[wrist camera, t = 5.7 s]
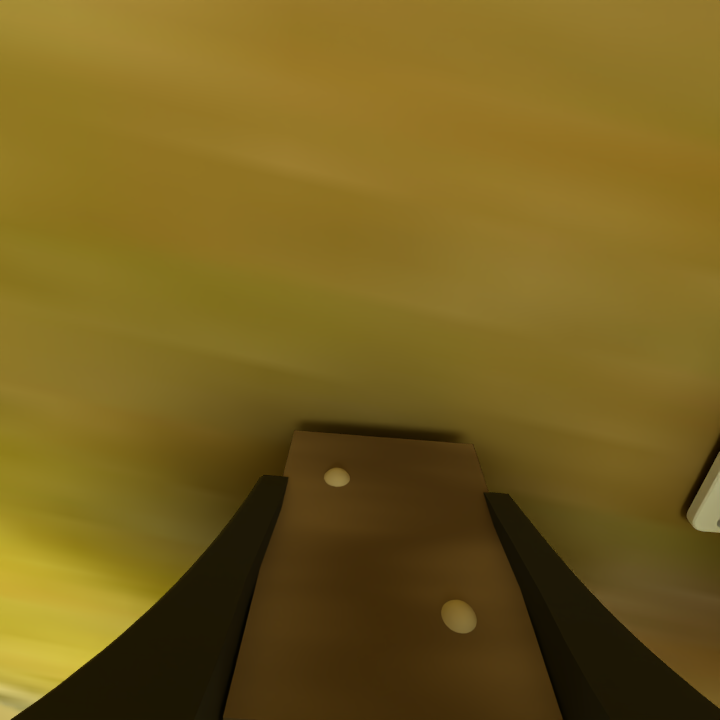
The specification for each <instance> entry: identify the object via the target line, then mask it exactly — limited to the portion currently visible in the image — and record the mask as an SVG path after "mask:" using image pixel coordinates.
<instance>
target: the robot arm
mask: <svg viewBox="0 0 720 720" xmlns="http://www.w3.org/2000/svg"><path fill="white" fill-rule="evenodd" d="M288 478H289V477H283V476H270V475H263V476H262V477H261V478H259V480H258V481H257V483H256V485H255V486H254V488H253V489H252V491H251V492H250V494H249V495H248V497H247V498H246V500H245V501H244V503H243V504H242V505H241V507H240V508H239V509H238V511H237V512H236V514H235V515H234V516H233V518H232V519H231V520H230V521H229V523H228V524H227V525H226V526H225V528H224V529H223V530H222V531H221V533H220V534H219V535H218V537H217V538H216V539H215V540H214V541H213V543H212V544H211V545H210V546H209V547H208V548H207V550H206V551H205V552H204V553H203V554H202V555H201V556H200V557H199V559H198V560H197V561H196V562H195V563H194V564H193V565H192V567H191V568H190V569H189V570H188V571H187V572H186V573H185V574H184V575H183V576H182V577H181V578H180V579H179V581H178V582H177V583H176V584H175V585H174V586H173V587H172V588H171V589H170V590H169V591H168V592H167V593H166V594H165V595H164V596H163V597H162V598H161V599H160V600H159V601H158V602H156V603H155V604H154V605H153V606H152V607H151V608H150V609H149V610H148V611H147V612H146V613H145V614H144V615H143V616H141V617H140V618H139V619H138V620H137V621H136V622H135V623H134V624H133V625H131V626H130V627H129V628H128V629H127V630H126V631H125V632H124V633H123V634H121V635H120V636H119V637H118V638H117V639H116V640H114V641H113V642H112V643H111V644H110V645H109V646H107V647H106V648H105V649H104V650H103V651H101V652H100V653H99V654H97V655H96V656H95V657H94V658H92V659H91V660H90V661H89V662H87V663H86V664H85V665H83V666H82V667H81V668H80V669H78V670H77V671H76V672H75V673H73V674H72V675H71V676H70V677H68V678H67V679H66V680H64V681H63V682H62V683H61V684H59V685H58V686H57V687H56V688H54V689H53V690H51V691H50V692H49V693H47V694H46V695H45V696H43V697H42V698H41V699H39V700H38V701H36V702H35V703H34V704H32V705H31V706H29V707H28V708H26V709H25V710H24V711H22V712H21V713H19V714H18V715H16V716H15V717H14V718H12V719H11V720H223V715H224V711H225V707H226V703H227V698H228V694H229V690H230V686H231V682H232V678H233V674H234V670H235V666H236V662H237V658H238V654H239V650H240V646H241V642H242V638H243V634H244V630H245V626H246V622H247V618H248V614H249V610H250V606H251V602H252V598H253V594H254V590H255V586H256V582H257V578H258V574H259V570H260V567H261V564H262V561H263V558H264V556H265V553H266V550H267V547H268V544H269V542H270V539H271V536H272V533H273V531H274V528H275V525H276V522H277V519H278V517H279V514H280V511H281V508H282V504H283V500H284V495H285V491H286V487H287V483H288ZM484 496H485V500H486V503H487V506H488V509H489V513H490V516H491V519H492V522H493V525H494V528H495V530H496V533H497V535H498V537H499V540H500V542H501V544H502V547H503V549H504V552H505V554H506V556H507V559H508V561H509V563H510V566H511V568H512V571H513V573H514V575H515V578H516V580H517V583H518V585H519V587H520V590H521V593H522V596H523V599H524V602H525V605H526V608H527V611H528V614H529V617H530V620H531V623H532V626H533V629H534V632H535V635H536V639H537V642H538V645H539V648H540V651H541V654H542V657H543V660H544V663H545V666H546V669H547V672H548V675H549V678H550V681H551V684H552V687H553V691H554V694H555V697H556V700H557V703H558V706H559V709H560V712H561V715H562V718H563V720H720V709H719V708H718V707H717V706H715V705H714V704H713V703H712V702H710V701H709V700H708V699H707V698H705V697H704V696H703V695H702V694H700V693H699V692H698V691H697V690H696V689H694V688H693V687H692V686H691V685H690V684H688V683H687V682H686V681H685V680H684V679H683V678H681V677H680V676H679V675H678V674H677V673H675V672H674V671H673V670H672V669H671V668H669V667H668V666H667V665H666V664H665V663H664V662H663V661H661V660H660V659H659V658H658V657H657V656H656V655H655V654H654V653H652V652H651V651H650V650H649V649H648V648H647V647H646V646H645V645H644V644H643V643H641V642H640V641H639V640H638V639H637V638H636V637H635V636H634V635H633V634H632V633H631V632H630V631H629V630H628V629H627V628H626V627H625V626H624V625H622V624H621V623H620V622H619V621H618V620H617V619H616V618H615V617H614V616H613V615H612V614H611V613H610V612H609V611H608V610H607V609H606V608H605V607H604V606H603V605H602V604H601V603H600V601H599V600H598V599H597V598H596V597H595V596H594V595H593V594H592V593H591V592H590V591H589V590H588V589H587V588H586V587H585V586H584V584H583V583H582V582H581V581H580V580H579V579H578V578H577V577H576V576H575V575H574V573H573V572H572V571H571V570H570V569H569V568H568V566H567V565H566V564H565V563H564V562H563V561H562V559H561V558H560V557H559V556H558V555H557V554H556V552H555V551H554V550H553V549H552V548H551V547H550V545H549V544H548V543H547V542H546V540H545V539H544V538H543V537H542V536H541V534H540V533H539V532H538V531H537V529H536V528H535V527H534V526H533V524H532V523H531V522H530V521H529V519H528V518H527V517H526V516H525V514H524V513H523V512H522V511H521V509H520V508H519V507H518V506H517V504H516V503H515V502H514V501H513V499H512V498H511V497H510V496H509V494H502V493H489V492H484ZM687 519H688V521H689V522H690V523H691V525H692V526H693V527H694V528H695V529H696V530H699V531H705V532H718V533H720V452H719V454H718V456H717V457H716V459H715V461H714V463H713V465H712V467H711V469H710V471H709V472H708V474H707V476H706V478H705V480H704V482H703V484H702V485H701V487H700V489H699V491H698V493H697V495H696V497H695V499H694V500H693V502H692V504H691V506H690V508H689V510H688V512H687Z"/></svg>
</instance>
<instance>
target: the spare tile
mask: <svg viewBox="0 0 720 720" xmlns="http://www.w3.org/2000/svg"><path fill="white" fill-rule="evenodd" d="M283 477H289V478H288V483H287V487H286V491H285V495H284V500H283V504H282V508H281V511H280V514H279V517H278V519H277V522H276V525H275V528H274V531H273V533H272V536H271V539H270V542H269V544H268V547H267V550H266V553H265V556H264V558H263V561H262V564H261V567H260V570H259V574H258V578H257V582H256V586H255V590H254V594H253V598H252V602H251V606H250V610H249V614H248V618H247V622H246V626H245V630H244V634H243V638H242V642H241V646H240V650H239V654H238V658H237V662H236V666H235V670H234V674H233V678H232V682H231V686H230V690H229V694H228V698H227V703H226V707H225V711H224V715H223V720H563V718H562V715H561V712H560V709H559V706H558V703H557V700H556V697H555V694H554V691H553V687H552V684H551V681H550V678H549V675H548V672H547V669H546V666H545V663H544V660H543V657H542V654H541V651H540V648H539V645H538V642H537V639H536V635H535V632H534V629H533V626H532V623H531V620H530V617H529V614H528V611H527V608H526V605H525V602H524V599H523V596H522V593H521V590H520V587H519V585H518V583H517V580H516V578H515V575H514V573H513V571H512V568H511V566H510V563H509V561H508V559H507V556H506V554H505V552H504V549H503V547H502V544H501V542H500V540H499V537H498V535H497V533H496V530H495V528H494V525H493V522H492V519H491V516H490V513H489V509H488V506H487V503H486V500H485V496H484V492H488V489H487V486H486V483H485V479H484V476H483V473H482V470H481V467H480V464H479V461H478V458H477V455H476V452H475V449H474V446H473V444H464V443H451V442H438V441H425V440H412V439H399V438H386V437H374V436H361V435H348V434H335V433H322V432H309V431H296V430H294V434H293V438H292V442H291V446H290V450H289V454H288V458H287V462H286V466H285V470H284V474H283Z"/></svg>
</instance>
